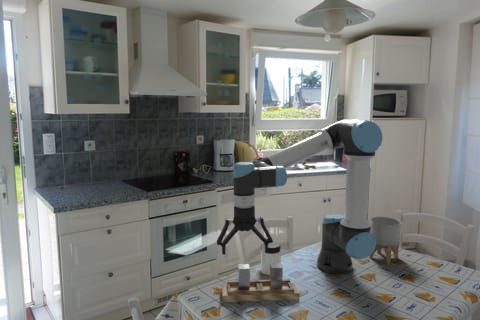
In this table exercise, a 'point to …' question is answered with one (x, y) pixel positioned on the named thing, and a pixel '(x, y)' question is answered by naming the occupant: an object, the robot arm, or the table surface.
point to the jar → (271, 257)
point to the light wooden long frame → (262, 288)
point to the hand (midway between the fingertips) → (245, 261)
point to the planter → (386, 236)
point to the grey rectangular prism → (243, 277)
